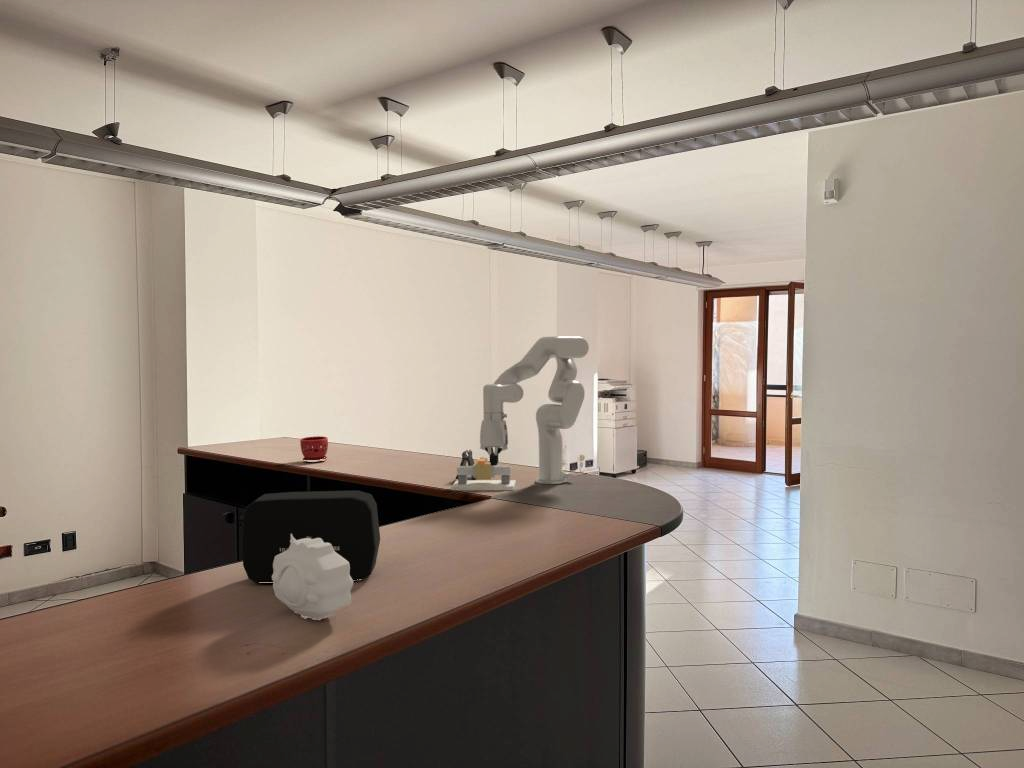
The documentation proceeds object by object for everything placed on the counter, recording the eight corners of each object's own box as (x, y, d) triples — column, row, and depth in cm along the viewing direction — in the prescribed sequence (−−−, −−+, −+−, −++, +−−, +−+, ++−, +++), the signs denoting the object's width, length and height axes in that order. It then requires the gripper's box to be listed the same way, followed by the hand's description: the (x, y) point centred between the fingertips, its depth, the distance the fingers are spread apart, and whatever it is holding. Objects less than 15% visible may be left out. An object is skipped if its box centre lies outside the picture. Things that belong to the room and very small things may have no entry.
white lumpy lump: (306, 600, 152) (304, 527, 151) (362, 619, 141) (360, 539, 140) (261, 616, 143) (258, 538, 142) (316, 637, 132) (313, 552, 131)
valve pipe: (511, 476, 280) (511, 460, 280) (510, 479, 274) (510, 462, 274) (458, 476, 282) (458, 460, 281) (456, 479, 276) (456, 462, 275)
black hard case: (242, 587, 162) (239, 500, 161) (258, 570, 174) (256, 489, 173) (376, 582, 163) (374, 496, 162) (383, 567, 175) (381, 486, 174)
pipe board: (515, 483, 284) (515, 472, 283) (513, 490, 271) (513, 478, 271) (456, 484, 285) (456, 472, 285) (451, 490, 272) (451, 478, 272)
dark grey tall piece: (479, 478, 299) (479, 449, 298) (476, 480, 293) (475, 451, 292) (459, 477, 300) (458, 449, 300) (455, 480, 295) (454, 451, 294)
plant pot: (299, 461, 354) (298, 437, 354) (325, 459, 360) (325, 435, 359) (303, 464, 343) (302, 440, 342) (330, 462, 348) (329, 438, 347)
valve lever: (480, 460, 279) (480, 456, 279) (487, 460, 279) (487, 456, 279) (477, 465, 267) (476, 461, 267) (484, 465, 267) (484, 461, 266)
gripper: (515, 416, 269) (515, 464, 269) (478, 415, 273) (479, 462, 274) (508, 418, 262) (509, 467, 262) (471, 417, 266) (472, 465, 267)
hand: (494, 465), depth 268 cm, fingers closed
